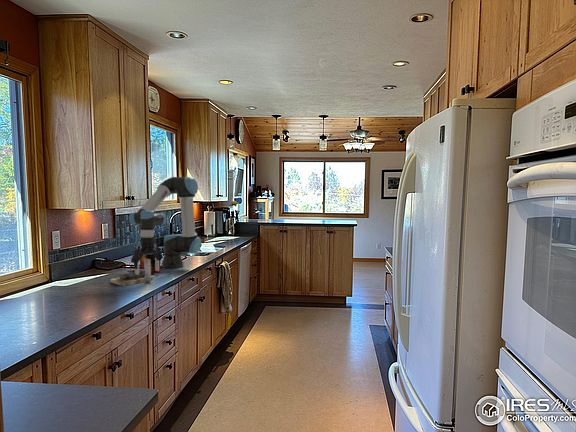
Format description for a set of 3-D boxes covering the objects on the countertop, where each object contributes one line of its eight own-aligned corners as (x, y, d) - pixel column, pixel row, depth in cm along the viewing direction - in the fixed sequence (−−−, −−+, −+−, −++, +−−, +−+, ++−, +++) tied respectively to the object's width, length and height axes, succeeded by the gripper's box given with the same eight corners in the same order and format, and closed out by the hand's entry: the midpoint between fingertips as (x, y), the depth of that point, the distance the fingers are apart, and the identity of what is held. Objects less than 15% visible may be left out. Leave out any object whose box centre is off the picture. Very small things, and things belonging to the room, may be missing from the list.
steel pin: (148, 282, 230) (148, 258, 229) (152, 283, 228) (152, 259, 227) (143, 283, 227) (143, 259, 226) (146, 284, 225) (146, 260, 224)
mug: (160, 275, 249) (160, 256, 249) (138, 275, 248) (138, 256, 247) (163, 272, 259) (163, 254, 258) (141, 272, 257) (141, 254, 256)
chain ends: (139, 276, 243) (139, 267, 243) (152, 280, 235) (152, 270, 235) (110, 282, 227) (110, 272, 227) (124, 286, 219) (124, 275, 219)
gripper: (161, 234, 238) (161, 268, 239) (124, 237, 218) (124, 274, 219) (169, 235, 234) (168, 270, 235) (132, 238, 213) (132, 276, 214)
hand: (147, 272), depth 227 cm, fingers open, 13 cm apart
